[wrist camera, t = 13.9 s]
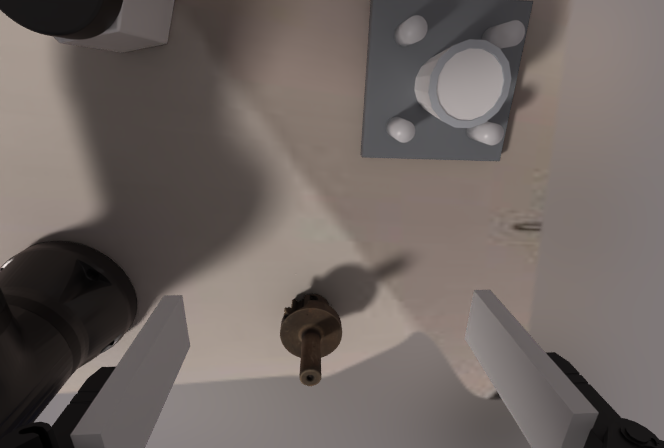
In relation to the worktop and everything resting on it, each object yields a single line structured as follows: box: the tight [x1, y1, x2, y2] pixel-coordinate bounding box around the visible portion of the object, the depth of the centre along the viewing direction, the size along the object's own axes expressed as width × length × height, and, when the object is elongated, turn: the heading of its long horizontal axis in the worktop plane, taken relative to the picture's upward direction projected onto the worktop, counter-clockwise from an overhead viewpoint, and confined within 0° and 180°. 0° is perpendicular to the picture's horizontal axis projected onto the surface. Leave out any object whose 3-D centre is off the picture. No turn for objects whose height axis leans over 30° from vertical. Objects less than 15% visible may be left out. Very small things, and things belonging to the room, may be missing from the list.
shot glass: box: [414, 39, 511, 128], centre depth 32 cm, size 7×7×7 cm
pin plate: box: [361, 0, 533, 161], centre depth 34 cm, size 15×15×6 cm
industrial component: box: [280, 294, 342, 386], centre depth 41 cm, size 9×7×12 cm
